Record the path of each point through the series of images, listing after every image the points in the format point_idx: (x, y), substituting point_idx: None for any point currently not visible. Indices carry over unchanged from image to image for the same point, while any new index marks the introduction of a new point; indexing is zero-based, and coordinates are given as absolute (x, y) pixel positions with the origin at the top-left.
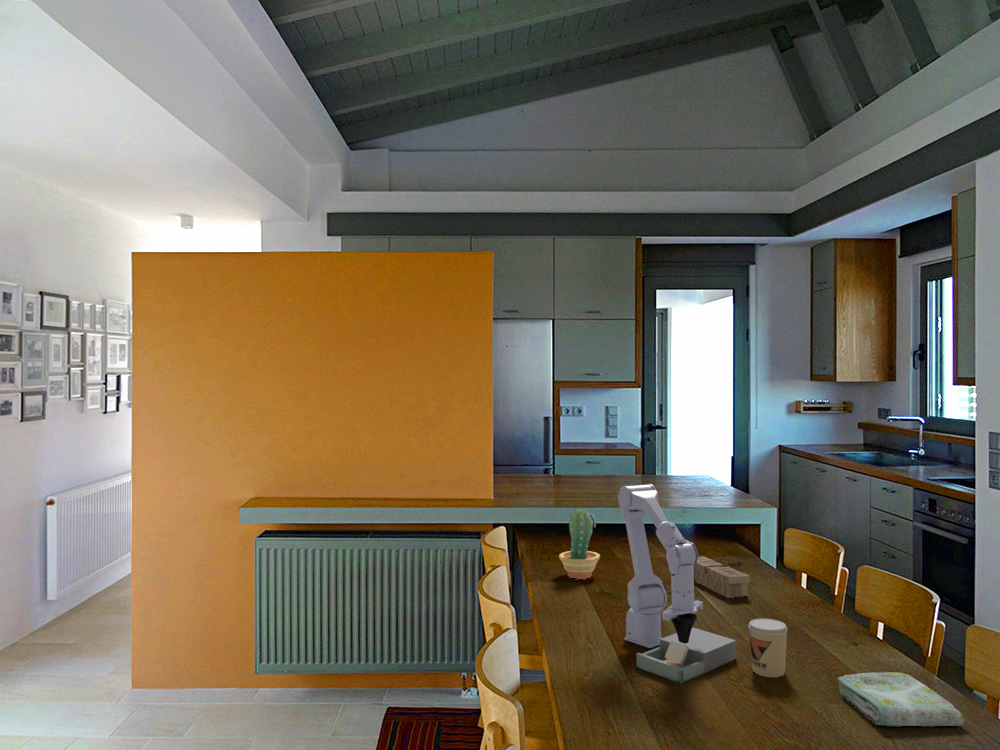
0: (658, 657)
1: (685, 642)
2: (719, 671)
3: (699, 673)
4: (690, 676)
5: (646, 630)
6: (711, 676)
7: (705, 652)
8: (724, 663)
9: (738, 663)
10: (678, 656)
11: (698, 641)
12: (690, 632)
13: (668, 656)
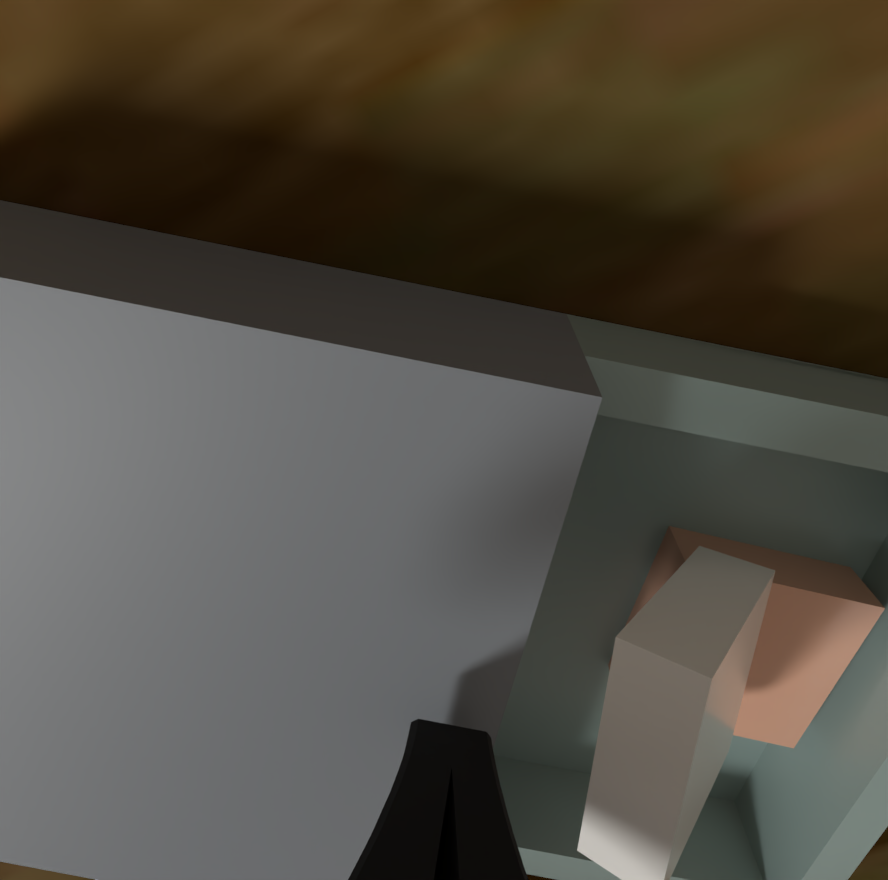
0: (517, 774)
1: (491, 745)
2: (400, 189)
3: (661, 338)
4: (837, 376)
5: None
6: (608, 202)
7: (538, 395)
8: (160, 235)
9: (2, 100)
10: (747, 649)
11: (179, 639)
12: (374, 852)
13: (733, 729)
